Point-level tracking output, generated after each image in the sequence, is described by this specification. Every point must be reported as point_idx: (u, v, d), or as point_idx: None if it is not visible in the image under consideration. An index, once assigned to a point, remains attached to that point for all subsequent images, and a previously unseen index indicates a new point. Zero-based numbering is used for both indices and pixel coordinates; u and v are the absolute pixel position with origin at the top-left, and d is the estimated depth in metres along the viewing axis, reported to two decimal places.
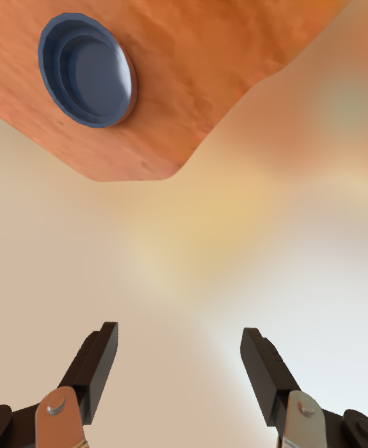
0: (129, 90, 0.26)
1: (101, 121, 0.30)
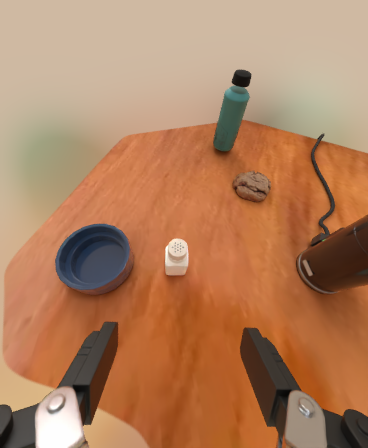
0: (90, 287, 0.29)
1: (66, 268, 0.32)
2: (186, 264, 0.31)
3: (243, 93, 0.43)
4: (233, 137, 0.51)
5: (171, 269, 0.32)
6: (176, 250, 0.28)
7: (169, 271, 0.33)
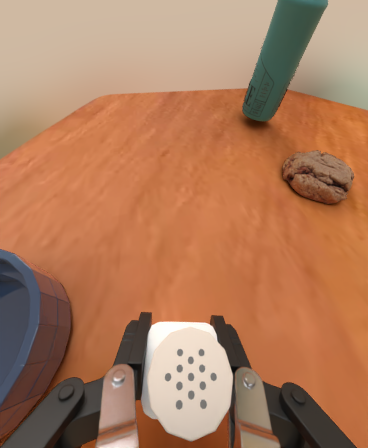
0: None
1: None
2: None
3: None
4: (281, 94, 0.30)
5: None
6: (184, 396, 0.06)
7: None
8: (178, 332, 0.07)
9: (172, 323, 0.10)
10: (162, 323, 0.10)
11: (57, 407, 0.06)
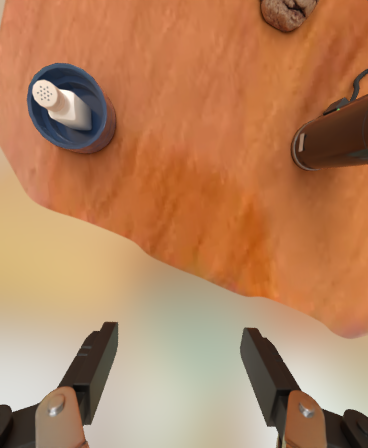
0: (75, 147, 0.30)
1: (45, 123, 0.31)
2: (73, 117, 0.27)
3: None
4: None
5: (62, 122, 0.29)
6: (43, 97, 0.24)
7: (65, 124, 0.30)
8: (39, 81, 0.23)
9: None
10: None
11: None
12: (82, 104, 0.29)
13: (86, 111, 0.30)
